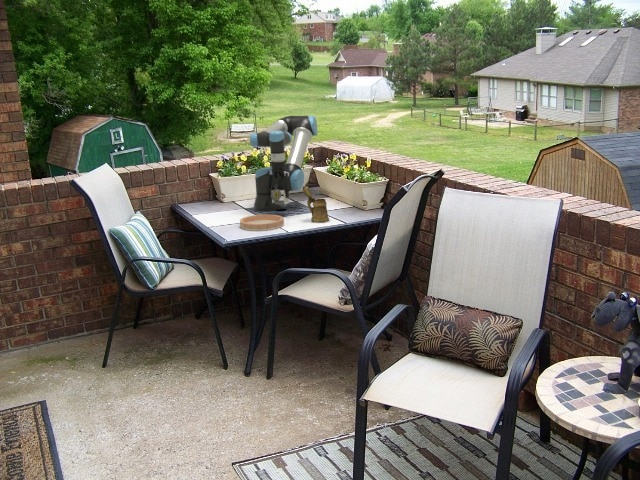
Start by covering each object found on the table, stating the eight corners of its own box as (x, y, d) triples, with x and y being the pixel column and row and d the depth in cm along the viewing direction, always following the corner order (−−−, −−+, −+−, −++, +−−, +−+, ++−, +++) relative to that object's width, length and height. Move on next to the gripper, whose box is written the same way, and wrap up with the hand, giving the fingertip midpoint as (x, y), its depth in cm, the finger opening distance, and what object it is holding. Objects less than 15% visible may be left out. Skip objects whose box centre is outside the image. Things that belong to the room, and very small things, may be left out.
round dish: (231, 227, 354) (230, 221, 353) (260, 218, 371) (259, 212, 370) (264, 232, 341) (263, 226, 340) (292, 223, 358) (292, 217, 357)
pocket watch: (285, 205, 371) (284, 186, 368) (270, 204, 373) (269, 186, 370) (289, 201, 379) (288, 183, 376) (274, 201, 380) (273, 183, 378)
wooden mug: (306, 218, 369) (305, 184, 364) (331, 219, 364) (330, 185, 360) (301, 222, 361) (299, 187, 356) (325, 223, 356) (324, 188, 352)
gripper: (258, 160, 372) (261, 202, 378) (288, 163, 360) (290, 206, 366) (267, 158, 378) (270, 199, 384) (297, 161, 366) (299, 203, 372)
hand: (280, 202), depth 375 cm, fingers closed on pocket watch, 8 cm apart
